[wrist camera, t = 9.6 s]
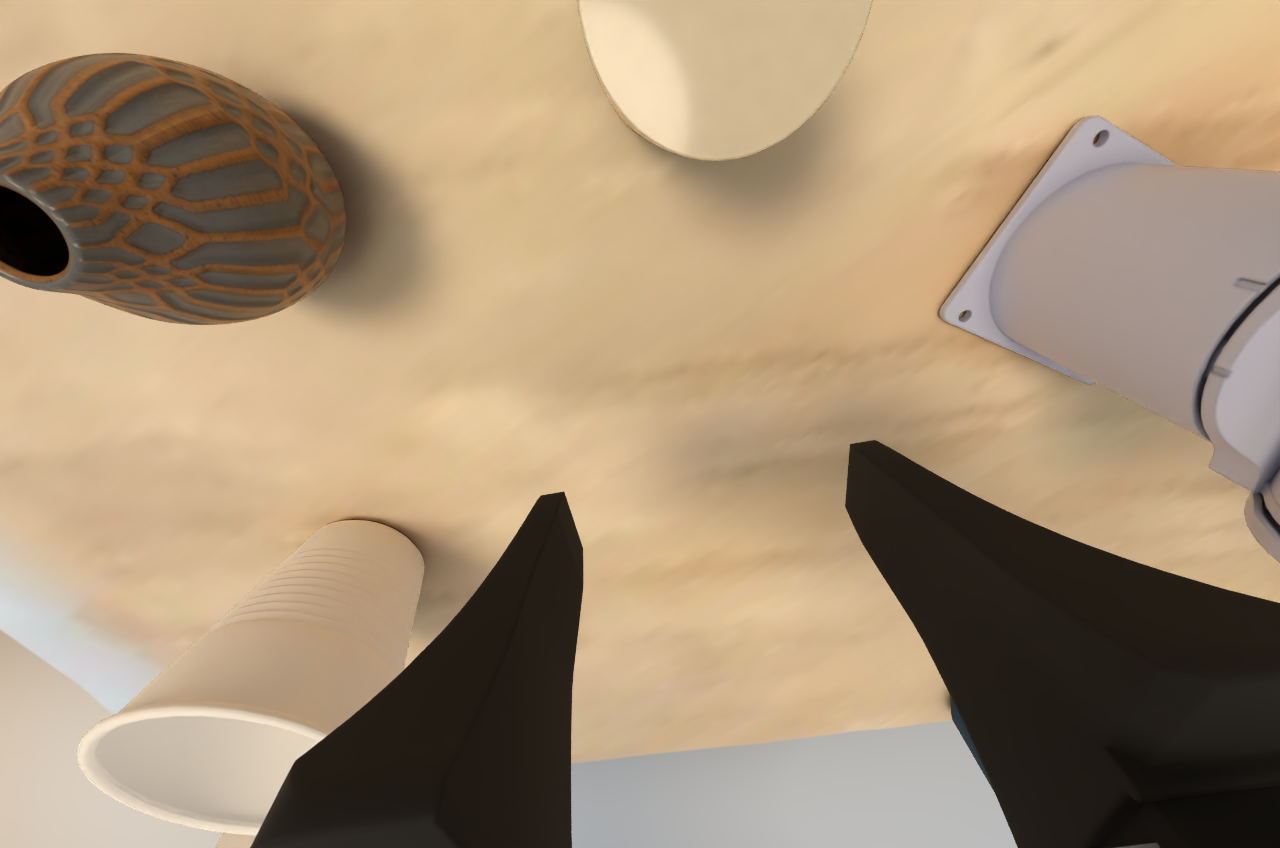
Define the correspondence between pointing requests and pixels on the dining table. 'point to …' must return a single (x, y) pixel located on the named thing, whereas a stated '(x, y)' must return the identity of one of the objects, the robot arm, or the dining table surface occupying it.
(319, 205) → the vase
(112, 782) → the cup
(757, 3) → the jar
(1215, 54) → the dining table surface
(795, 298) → the dining table surface
